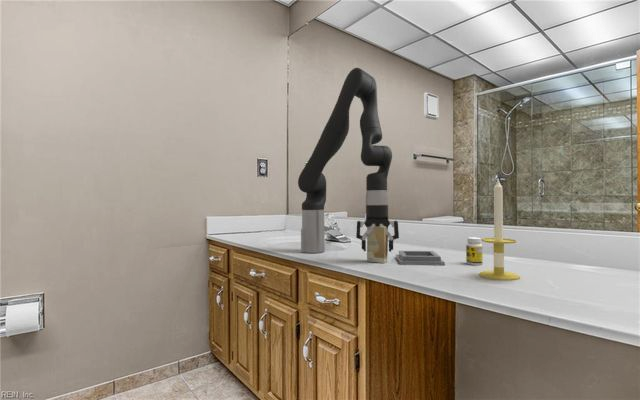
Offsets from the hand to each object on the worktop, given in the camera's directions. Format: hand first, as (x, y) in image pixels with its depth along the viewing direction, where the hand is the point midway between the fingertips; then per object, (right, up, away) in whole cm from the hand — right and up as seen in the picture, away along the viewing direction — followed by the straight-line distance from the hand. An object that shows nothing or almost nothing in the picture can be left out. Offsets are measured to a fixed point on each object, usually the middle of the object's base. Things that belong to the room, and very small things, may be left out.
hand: (377, 251), depth 115 cm
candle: (+29, -4, -23) cm, 37 cm away
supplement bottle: (+31, -3, -6) cm, 31 cm away
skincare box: (0, -4, 0) cm, 4 cm away
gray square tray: (+14, -3, 0) cm, 15 cm away
